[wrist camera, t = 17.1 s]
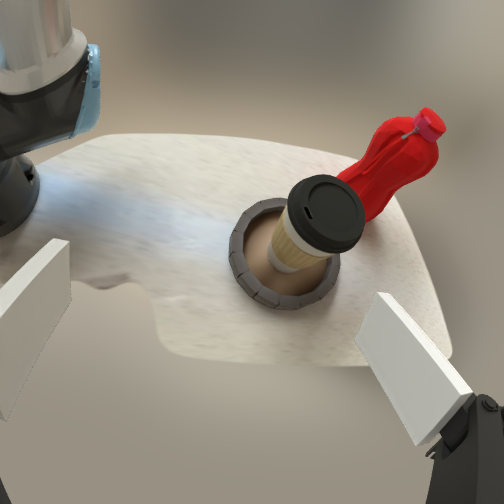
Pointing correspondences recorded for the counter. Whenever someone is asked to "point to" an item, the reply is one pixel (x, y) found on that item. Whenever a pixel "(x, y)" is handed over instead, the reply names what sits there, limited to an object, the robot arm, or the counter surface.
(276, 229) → the coffee cup
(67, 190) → the counter surface
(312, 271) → the round tray
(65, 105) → the robot arm
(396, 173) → the red curved bottle
